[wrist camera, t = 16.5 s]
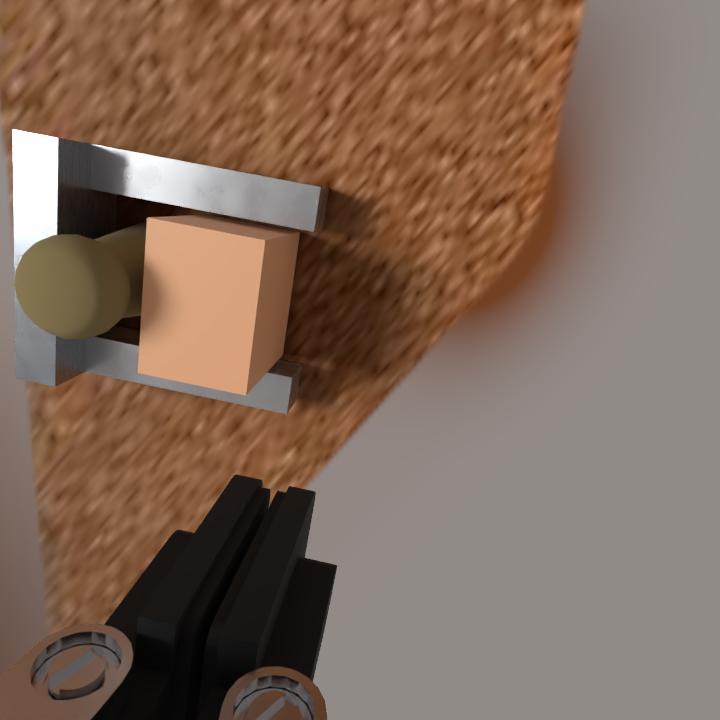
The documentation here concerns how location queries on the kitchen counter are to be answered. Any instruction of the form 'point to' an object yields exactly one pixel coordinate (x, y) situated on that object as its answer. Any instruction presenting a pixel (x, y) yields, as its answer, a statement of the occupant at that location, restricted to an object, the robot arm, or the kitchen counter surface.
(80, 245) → the cork
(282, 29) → the kitchen counter surface
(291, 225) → the u-shaped metal bracket
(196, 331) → the block
